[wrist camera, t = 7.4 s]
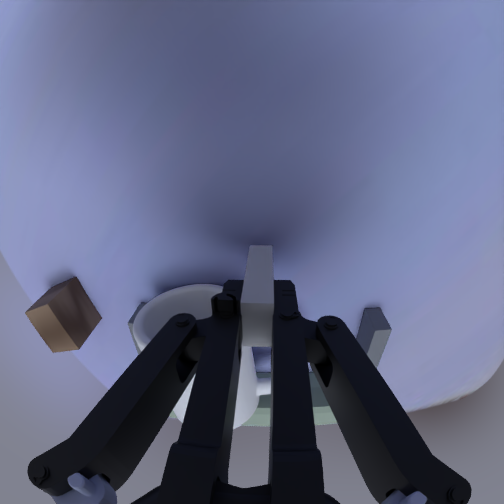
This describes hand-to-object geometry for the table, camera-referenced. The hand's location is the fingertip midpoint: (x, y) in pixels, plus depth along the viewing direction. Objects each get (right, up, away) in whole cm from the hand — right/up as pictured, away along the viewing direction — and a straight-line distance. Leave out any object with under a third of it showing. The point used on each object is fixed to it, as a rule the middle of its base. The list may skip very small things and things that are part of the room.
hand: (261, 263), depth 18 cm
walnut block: (-19, -4, +5) cm, 20 cm away
